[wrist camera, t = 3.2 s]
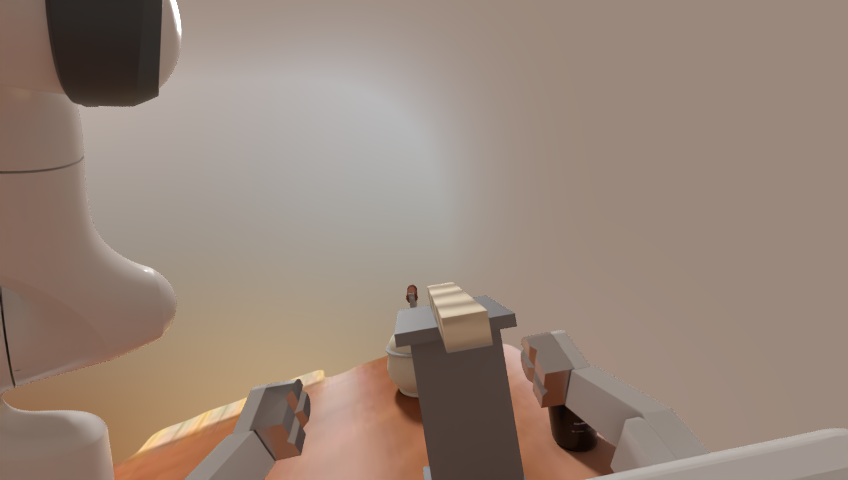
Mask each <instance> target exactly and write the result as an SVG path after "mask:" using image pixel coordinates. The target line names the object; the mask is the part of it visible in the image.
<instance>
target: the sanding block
mask: <svg viewBox="0 0 848 480" xmlns="http://www.w3.org/2000/svg"><path fill="white" fill-rule="evenodd" d="M427 289H428V295H429V301H430V306H431V309H432V312H433V315H434V318H435V320H436V323H437V326H438V329H439V331H440V334H441V337H442V340H443V343H444V345H445V348H446V351H447V353H451V352H457V351H463V350H468V349H474V348H479V347H485V346H490V345H493V342H492V336H491V329H490V323H489V317H488V311H487V310H486V309H485V308H484V307H483V306H481V305H480V304H479V303H478V302H476V301H475V300H474V299H473V298H471V297H470V296H469V295H468V294H466V293H465V292H464V291H463V290H461V289H460V288H459V287H458V286H456V285H455V284H454V283H453V282H450V283H444V284H439V285H432V286H428V287H427Z"/></svg>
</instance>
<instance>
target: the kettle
mask: <svg viewBox="0 0 848 480" xmlns="http://www.w3.org/2000/svg"><path fill="white" fill-rule="evenodd" d="M417 298H418V297H417V288H416V287H415V286H414V285H410V286H409V287H408V289H407V296H406V299H407V301H408V302H409V303H410V307H411V308H415V307H417ZM386 352H387V353H388V354H389V355H388V362H387V368H388V374H389V376H390V378H391V380H392V381H393V382H394V383H395V384H396V385H397V386H398V387H399V390H400V392H401V393H403V394H404V395H406V396H409V397H418V391H417V384H416V378H415V372H414V365H413V359H412V353H411V346H410V345H409V346H403V347H397V348H396V343H395V336H394V335H393V336H392V337H391V339H390V342H389V344H388V345H387V347H386ZM418 398H419V397H418Z"/></svg>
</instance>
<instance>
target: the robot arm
mask: <svg viewBox="0 0 848 480" xmlns="http://www.w3.org/2000/svg"><path fill="white" fill-rule="evenodd" d="M180 47H181V25H180V17H179V13H178V9H177V5H176V2H175V0H0V480H115V478H114V471H113V463H112V456H111V449H110V441H109V435H108V428H107V426H106V424H105V423H104V421H103V420H102V419H101V418H99V417H98V416H96V415H94V414H91V413H88V412H82V411H72V410H55V411H24V410H19V409H15V408H13V407H11V406H9V405H8V404H7V403H5V401H4V400H3V398H2V395H3V394H4V393H5V392H6V391H8V390H10V389H13V388H15V385H16V386H21V385H24V384H28V383H31V382H34V381H38V380H41V379H46V378H49V377H53V376H56V375H60V374H63V373H66V372H70V371H74V370H78V369H81V368H85V367H88V366H92V365H95V364H99V363H102V362H106V361H110V360H113V359H115V358H117V357H120V356H122V355H125V354H127V353H129V352H132V351H134V350H137V349H139V348H141V347H143V346H146V345H148V344H150V343H152V342H155V341H157V340H159V339H161V337H162V336H163V335H164V334H165V333H166V331H167V330H168V329H169V327H170V325H171V324H172V321H173V319H174V316H175V312H176V296H175V293H174V290H173V288H172V286H171V285H170V283H169V282H168V281H167V280H166V278H165V277H164V276H162V275H161V274H160V273H158V272H157V271H155V270H154V269H152V268H150V267H147V266H143V265H140V264H137V263H135V262H133V261H130V260H128V259H126V258H124V257H123V256H121V255H119V254H118V253H117V252H115V251H114V250H112V249H111V248H110V247H109V246H108V245H107V244H106V243H105V242H104V241H103V240H102V238H101V237H100V236H99V234H98V232H97V231H96V229H95V226H94V224H93V221H92V217H91V213H90V208H89V202H88V195H87V188H86V178H85V164H84V146H83V135H82V128H81V121H80V114H79V110H78V105H77V104H81V105H83V106H86V107H98V106H122V107H123V106H136V105H138V104H141V103H143V102H145V101H148V100H150V99H153V98H155V97H157V96H158V95H159V88H160V87H161V86H162V85H163V84H164V83H165V82H166V81H167V80H168V78H169V77H170V75H171V74H172V72H173V70H174V68H175V66H176V64H177V61H178V57H179V53H180ZM521 342H522V343H521V345H522V347H523V349H524V350H523V351H522V352H521V363H522V368H523V370H524V373H525V375H526V377H527V379H528V380H529V381H531V382H532V383H533V392H534V394H535V396H536V398H537V400H538V402H539V404H540V406H541V408H544V407H551V406H557V405H563V404H565V406H566V407H568V408H569V409H570V410H571V411H573V412H574V413H575V414H576V415H577V416H579V417H580V418H581V419H582V420H583V421H585V422H586V423H587V424H588V425H589V426H591V427H592V428H593V429H594V430H595V431H597V432H598V433H599V434H600V435H601V436H603V437H604V438H605V439H606V440H607V441H609V442H610V443H611V444H612V445H614V446H615V447H616V450H615V453H614V456H613V459H612V462H611V465H610V467H611V468H612V470H613V472H614V473H613V474H609V475H604V476H599V477H594V478H590V479H585V480H848V429H842V428H832V429H823V430H819V431H814V432H810V433H805V434H800V435H795V436H791V437H786V438H781V439H776V440H771V441H767V442H762V443H757V444H752V445H748V446H743V447H738V448H733V449H729V450H723V451H719V452H714V453H710V452H709V451H708V450H707V448H706V447H705V446H704V445H703V444H702V443H701V442H700V440H699V439H698V438H697V437H696V436H695V435H694V434H693V432H691V430H690V429H689V428H688V427H687V426H686V425H685V423H684V422H683V421H682V420H681V419H680V418H679V417H678V416H677V414H676V413H675V412H674V411H673V410H672V409H671V408H669V407H667V406H666V405H664V404H662V403H660V402H658V401H656V400H655V399H653V398H651V397H649V396H648V395H646V394H644V393H643V392H641V391H639V390H637V389H636V388H634V387H632V386H630V385H629V384H627V383H625V382H623V381H622V380H620V379H617V378H616V377H615V376H612V375H611V374H609V373H607V372H606V371H604V370H602V369H600V368H599V367H596V366H590V364H589V363H588V362H587V360H586V359H585V358H584V356H583V355H582V353H581V352H580V351H579V349H578V348H577V347H576V345H575V344H574V343H573V341H572V340H571V338H570V337H569V336H568V334H567V333H566V332H565V331H564V330H559V331H553V332H549V333H548V332H547V333H542V334H537V335H532V336H527V337H523V338H522V341H521ZM302 387H303V384H302V382H301V380H300V379H296V380H289V381H283V382H277V383H270V384H265V385H259V386H255V387H254V388H253V389H252V390H251V391H250V393H249V396H248V398H247V400H246V403H245V405H244V407H243V410H242V412H241V414H240V417H239V419H238V421H237V424H236V426H235V428H234V431H233V433H232V435H227V436H226V437H225V438H224V439H223V440H222V441H221V442H220V443H219V444H218V445H217V447H216V448H215V449H214V450H213V451H212V452H211V453H210V454H209V455H208V456H207V457H206V458H205V459H204V460H203V461H202V462H201V463H200V464H199V465H198V466H197V467H196V468H195V469H194V470H193V471H192V472H191V473H190V474H189V475H188V476H187V477H186V478H185V479H184V480H264V479H265V477H266V476H267V474H268V473H269V472H270V470H271V469H272V467H273V466H274V464H275V461H277V460H282V459H286V458H291V457H295V456H299V455H301V453H302V448H303V444H304V439H305V435H306V434H305V432H304V430H303V427H304V426H305V425H306V424H307V422H308V421H309V416H310V399H309V396H308V394H307V393H306V392H304V391H302Z"/></svg>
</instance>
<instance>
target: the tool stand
mask: <svg viewBox="0 0 848 480" xmlns="http://www.w3.org/2000/svg"><path fill="white" fill-rule="evenodd" d="M473 299H474V300H475V301H476V302H478V303H479V304H480V305H481V306H483V307H484V308H485V309H486V310H487V311H488V317H489V323H490V329H491V336H492V342H493V345H490V346H485V347H479V348H474V349H468V350H463V351H457V352H451V353H447V351H446V348H445V345H444V343H443V340H442V337H441V334H440V331H439V329H438V326H437V323H436V320H435V318H434V315H433V312H432V309H431V306H430V305H427V306H421V307H415V308H409V309H403V310H398V316H397V322H396V327H395V333H394V336H395V343H396V348H397V347H403V346H409V345H410V346H411V353H412V359H413V365H414V372H415V378H416V384H417V391H418V397H419V403H420V410H421V416H422V422H423V428H424V435H425V441H426V447H427V454H428V460H429V466H427V467H423V472H424V480H526V478H525V476H524V474H523V468H522V462H521V455H520V449H519V443H518V437H517V431H516V425H515V419H514V413H513V407H512V400H511V394H510V388H509V382H508V376H507V370H506V364H505V358H504V352H503V345H502V340H501V333H500V329H504V328H509V327H516V326H517V324H516V318H515V313H513V312H512V311H510V310H509V309H507V308H505V307H504V306H502V305H500V304H499V303H497V302H496V301H494V300H493V299H491V298H489V297H488V296H479V297H473Z"/></svg>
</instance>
